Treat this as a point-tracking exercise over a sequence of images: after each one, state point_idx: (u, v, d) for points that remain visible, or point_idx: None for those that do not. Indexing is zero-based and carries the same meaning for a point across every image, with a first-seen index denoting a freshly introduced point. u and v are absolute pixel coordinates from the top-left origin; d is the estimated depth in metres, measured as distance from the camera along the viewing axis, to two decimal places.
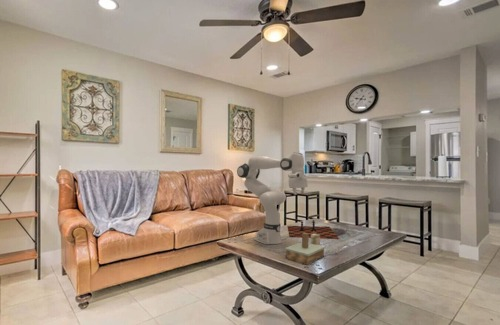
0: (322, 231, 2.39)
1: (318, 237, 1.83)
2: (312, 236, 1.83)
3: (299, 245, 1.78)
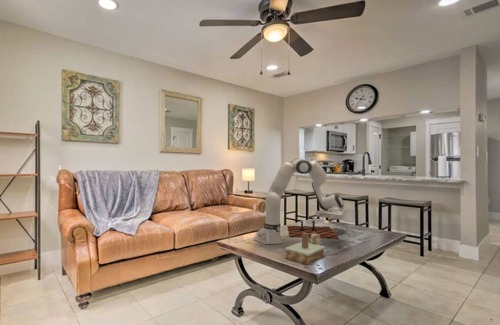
0: (322, 231, 2.39)
1: (318, 237, 1.83)
2: (312, 236, 1.83)
3: (299, 245, 1.78)
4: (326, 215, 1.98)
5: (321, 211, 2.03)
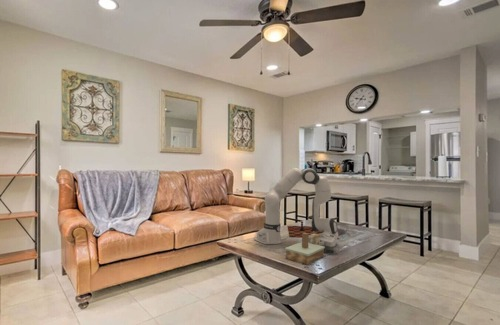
0: (322, 231, 2.39)
1: (318, 237, 1.83)
2: (312, 236, 1.84)
3: (299, 245, 1.78)
4: None
5: None
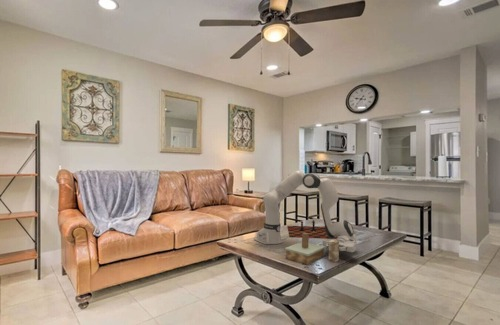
0: (322, 231, 2.39)
1: (337, 244, 1.68)
2: (330, 243, 1.69)
3: (299, 245, 1.78)
4: None
5: (329, 240, 1.78)
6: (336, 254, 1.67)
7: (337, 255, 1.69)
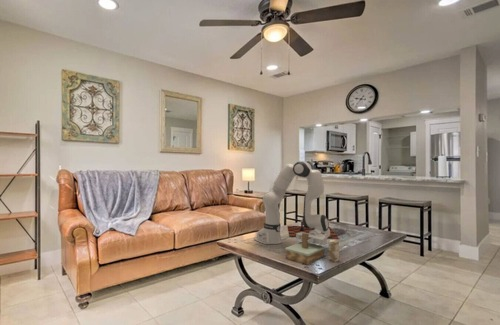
0: None
1: (337, 244, 1.68)
2: (330, 243, 1.69)
3: (299, 245, 1.78)
4: None
5: None
6: (336, 254, 1.68)
7: (337, 255, 1.69)
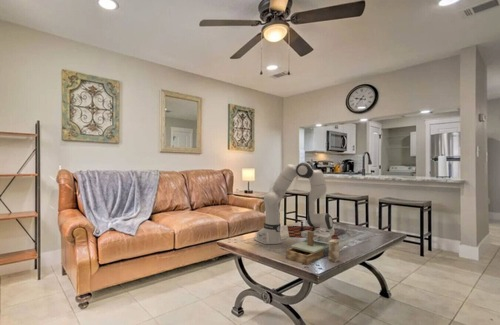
0: None
1: (337, 244, 1.68)
2: (330, 243, 1.69)
3: (304, 243, 1.83)
4: None
5: (307, 231, 1.88)
6: (336, 254, 1.68)
7: (337, 255, 1.69)
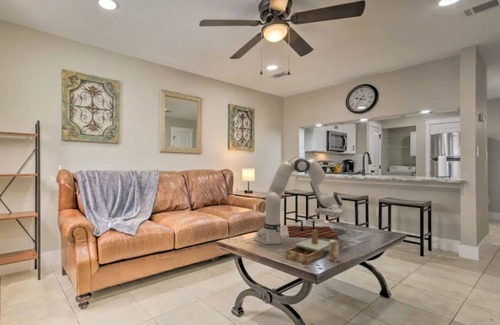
0: (322, 231, 2.39)
1: (337, 244, 1.68)
2: (330, 243, 1.69)
3: (309, 241, 1.87)
4: (325, 212, 1.98)
5: (320, 208, 2.03)
6: (336, 254, 1.68)
7: (337, 255, 1.69)
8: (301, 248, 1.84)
